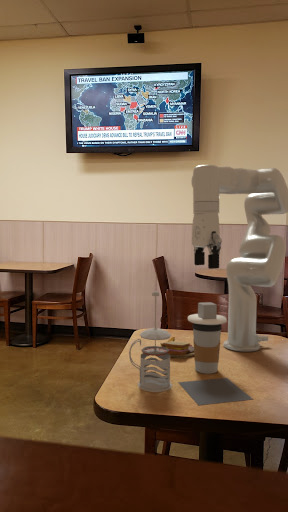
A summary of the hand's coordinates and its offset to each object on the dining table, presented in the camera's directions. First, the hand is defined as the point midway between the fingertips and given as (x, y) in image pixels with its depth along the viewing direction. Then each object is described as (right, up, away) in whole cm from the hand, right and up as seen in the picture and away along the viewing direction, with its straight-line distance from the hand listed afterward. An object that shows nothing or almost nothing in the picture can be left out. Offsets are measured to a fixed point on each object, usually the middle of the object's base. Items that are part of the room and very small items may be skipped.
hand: (206, 266), depth 113 cm
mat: (-1, -31, -17) cm, 36 cm away
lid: (0, -15, -3) cm, 16 cm away
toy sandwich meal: (-7, -30, +15) cm, 34 cm away
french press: (-17, -31, -14) cm, 38 cm away
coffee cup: (0, -31, -3) cm, 31 cm away
